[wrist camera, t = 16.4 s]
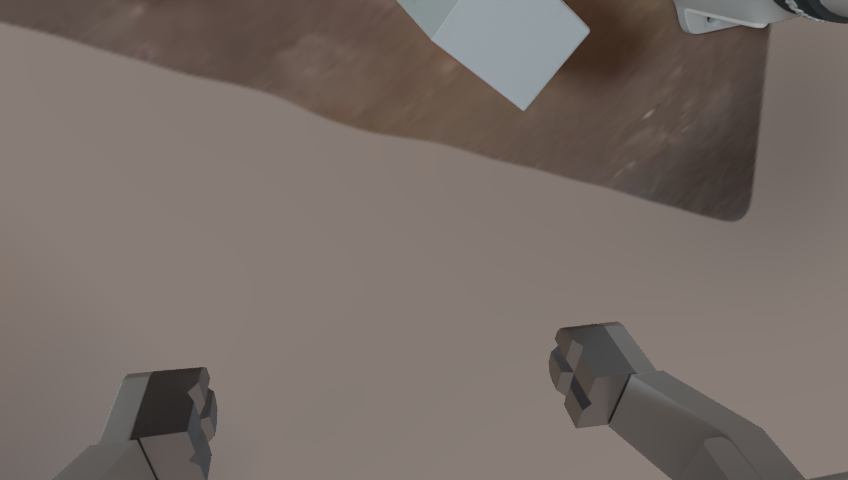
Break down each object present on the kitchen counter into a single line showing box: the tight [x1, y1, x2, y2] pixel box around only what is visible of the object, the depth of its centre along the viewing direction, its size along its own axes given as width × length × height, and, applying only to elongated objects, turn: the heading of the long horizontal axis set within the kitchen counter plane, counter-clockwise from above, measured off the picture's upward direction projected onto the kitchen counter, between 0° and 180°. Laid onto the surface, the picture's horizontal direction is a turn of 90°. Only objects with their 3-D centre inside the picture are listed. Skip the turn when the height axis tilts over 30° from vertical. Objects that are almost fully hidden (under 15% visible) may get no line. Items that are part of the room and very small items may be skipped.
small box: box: [396, 0, 590, 111], centre depth 34 cm, size 8×6×13 cm
